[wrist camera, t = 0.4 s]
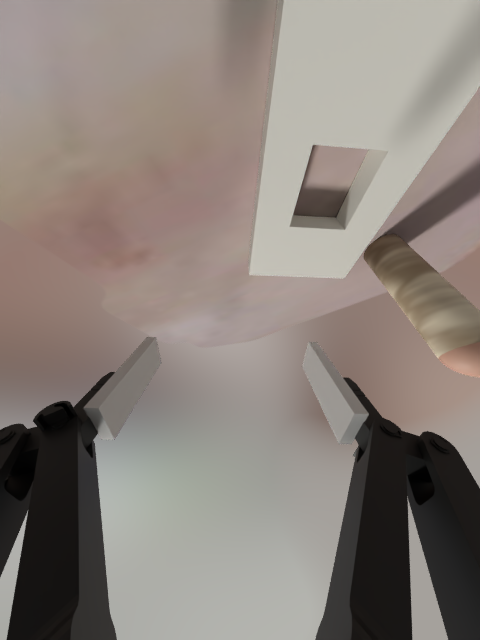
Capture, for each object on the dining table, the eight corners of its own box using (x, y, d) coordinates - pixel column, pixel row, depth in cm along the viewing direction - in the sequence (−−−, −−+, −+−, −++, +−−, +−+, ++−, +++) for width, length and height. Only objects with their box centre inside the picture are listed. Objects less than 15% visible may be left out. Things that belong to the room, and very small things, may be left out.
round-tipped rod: (377, 233, 23) (505, 365, 12) (408, 235, 23) (561, 366, 12) (357, 262, 26) (441, 383, 15) (384, 263, 26) (486, 383, 16)
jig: (282, -41, 10) (292, -69, 8) (505, -9, 11) (559, -28, 9) (247, 261, 26) (248, 274, 24) (337, 265, 27) (344, 278, 25)
